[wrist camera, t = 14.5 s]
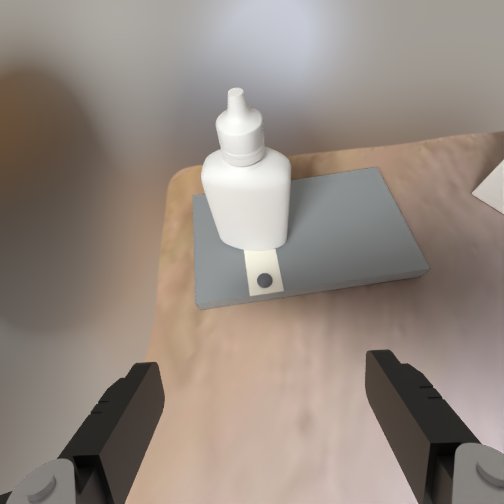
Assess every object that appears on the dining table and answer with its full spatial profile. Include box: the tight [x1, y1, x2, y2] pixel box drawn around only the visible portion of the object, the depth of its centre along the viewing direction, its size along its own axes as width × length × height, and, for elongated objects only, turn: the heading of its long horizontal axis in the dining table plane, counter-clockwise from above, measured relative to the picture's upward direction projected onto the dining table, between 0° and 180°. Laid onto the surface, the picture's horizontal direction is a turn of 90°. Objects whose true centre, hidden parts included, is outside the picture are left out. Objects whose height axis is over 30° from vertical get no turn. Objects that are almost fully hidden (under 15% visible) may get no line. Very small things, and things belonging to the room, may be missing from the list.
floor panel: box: [193, 167, 430, 310], centre depth 23 cm, size 18×11×2 cm, turn 97°
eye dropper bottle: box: [201, 88, 291, 251], centre depth 17 cm, size 4×6×12 cm
